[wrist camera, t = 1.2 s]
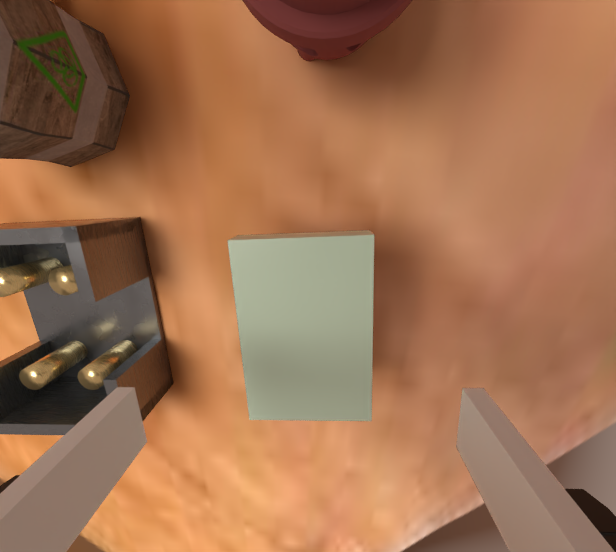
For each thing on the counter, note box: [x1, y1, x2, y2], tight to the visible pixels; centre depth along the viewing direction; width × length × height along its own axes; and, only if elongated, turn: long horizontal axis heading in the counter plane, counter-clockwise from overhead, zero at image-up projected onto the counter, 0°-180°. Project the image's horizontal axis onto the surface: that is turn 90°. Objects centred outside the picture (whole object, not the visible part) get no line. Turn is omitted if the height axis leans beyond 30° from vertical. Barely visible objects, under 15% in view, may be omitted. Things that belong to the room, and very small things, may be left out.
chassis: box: [0, 217, 173, 435], centre depth 24 cm, size 16×12×6 cm
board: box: [228, 230, 374, 421], centre depth 19 cm, size 12×8×2 cm, turn 3°
